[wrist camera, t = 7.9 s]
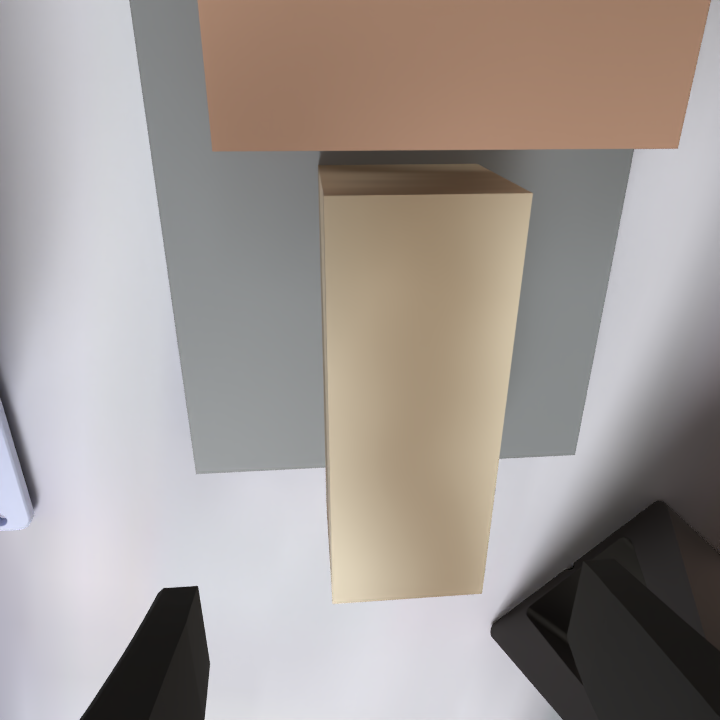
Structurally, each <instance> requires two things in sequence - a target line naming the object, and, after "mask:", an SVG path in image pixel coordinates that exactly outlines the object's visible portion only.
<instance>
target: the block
mask: <svg viewBox="0 0 720 720" xmlns="http://www.w3.org/2000/svg"><path fill="white" fill-rule="evenodd" d="M318 189H319V228H320V267H321V307H322V346H323V385H324V424H325V464H326V503H327V520H328V537H329V553H330V569H331V585H332V602H333V604H338V603H353V602H367V601H382V600H396V599H410V598H425V597H439V596H454V595H468V594H482V589H483V581H484V573H485V565H486V557H487V549H488V542H489V534H490V526H491V518H492V510H493V502H494V495H495V487H496V479H497V471H498V463H499V455H500V448H501V440H502V432H503V424H504V416H505V408H506V400H507V393H508V385H509V377H510V369H511V361H512V353H513V346H514V338H515V330H516V322H517V314H518V306H519V299H520V291H521V283H522V275H523V267H524V259H525V251H526V244H527V236H528V228H529V220H530V212H531V204H532V197H533V193H531V192H530V191H528V190H526V189H524V188H522V187H520V186H518V185H516V184H514V183H513V182H511V181H509V180H507V179H505V178H503V177H501V176H499V175H498V174H496V173H494V172H492V171H490V170H488V169H486V168H484V167H482V166H481V165H479V164H398V165H318Z"/></svg>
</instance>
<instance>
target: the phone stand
mask: <svg viewBox="0 0 720 720" xmlns="http://www.w3.org/2000/svg"><path fill="white" fill-rule="evenodd" d="M602 559H615V560H616V561H617V562H619V563H620V564H621V565H622V566H623V567H624V568H626V569H627V570H628V571H629V572H630V573H631V574H632V575H634V576H635V577H636V578H637V579H638V580H639V581H640V582H641V583H642V584H644V585H645V586H646V587H647V588H648V589H649V590H650V591H651V592H653V593H654V594H655V595H656V596H657V597H658V598H659V599H660V600H662V601H663V602H664V603H665V604H666V605H667V606H668V607H669V608H671V609H672V610H673V611H674V612H675V613H676V614H677V615H678V616H680V617H681V618H682V619H683V620H684V621H685V622H686V623H688V624H689V625H690V626H691V627H692V628H693V629H695V630H696V631H697V632H698V633H699V634H700V635H702V636H703V637H704V638H705V639H706V640H707V641H709V642H710V643H711V644H712V645H713V646H714V647H716V648H717V649H718V650H719V651H720V555H719V554H718V553H717V552H716V551H715V550H714V549H713V548H712V547H711V546H710V545H709V544H708V543H707V542H706V541H705V540H703V539H702V538H701V537H700V536H699V535H698V534H697V533H696V532H695V531H694V530H693V529H692V528H691V527H690V526H689V525H688V524H687V523H685V522H684V521H683V520H682V519H681V518H680V517H679V516H678V515H677V514H676V513H675V512H674V511H673V510H672V509H671V508H670V507H669V506H668V505H666V504H665V503H664V502H662V501H657V502H654V503H653V504H652V505H650V506H649V507H648V508H646V509H645V510H644V511H642V512H641V513H640V514H638V515H637V516H636V517H634V518H633V519H632V520H630V521H629V522H628V523H626V524H625V525H624V526H622V527H621V528H620V529H618V530H617V531H616V532H614V533H613V534H612V535H610V536H609V537H608V538H606V539H605V540H604V541H602V542H601V543H600V544H599V545H597V546H596V547H595V548H593V549H592V550H591V551H589V552H588V553H587V554H585V555H584V556H583V557H581V558H580V559H579V560H577V561H576V562H575V563H574V568H573V569H572V570H568V569H565V570H564V571H563V572H561V573H560V574H559V575H557V576H556V577H555V578H553V579H552V580H551V581H549V582H548V583H547V584H545V585H544V586H543V587H542V588H540V589H539V590H538V591H536V592H535V593H534V594H532V595H531V596H530V597H528V598H527V599H526V600H524V601H523V602H522V603H520V604H519V605H518V606H516V607H515V608H514V609H512V610H511V611H510V612H508V613H507V614H506V615H504V616H503V617H502V618H500V619H499V620H498V621H496V622H495V623H494V624H493V625H492V627H491V636H492V638H493V639H494V640H495V641H496V642H497V643H498V645H499V646H500V647H501V648H502V649H503V650H504V652H505V653H506V654H507V655H508V656H509V657H510V659H511V660H512V661H513V662H514V663H515V664H516V666H517V667H518V668H519V669H520V670H521V671H522V673H523V674H524V675H525V676H526V677H527V678H528V680H529V681H530V682H531V683H532V684H533V685H534V687H535V688H536V689H537V690H538V691H539V692H540V694H541V695H542V696H543V697H544V698H545V699H546V701H547V702H548V703H549V704H550V705H551V706H552V708H553V709H554V710H555V711H556V712H557V713H558V715H559V716H560V717H561V718H562V719H563V720H599V719H598V717H597V715H596V713H595V711H594V709H593V707H592V704H591V702H590V700H589V698H588V696H587V694H586V691H585V688H584V686H583V683H582V680H581V677H580V675H579V672H578V669H577V666H576V663H575V660H574V657H573V654H572V651H571V648H570V645H569V642H568V639H567V632H568V628H569V623H570V619H571V614H572V610H573V605H574V601H575V596H576V592H577V587H578V583H579V578H580V574H581V569H582V565H583V561H587V560H602Z"/></svg>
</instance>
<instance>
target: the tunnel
mask: <svg viewBox="0 0 720 720" xmlns="http://www.w3.org/2000/svg"><path fill="white" fill-rule="evenodd" d="M197 1H198V11H199V21H200V31H201V41H202V52H203V62H204V72H205V82H206V92H207V103H208V113H209V123H210V133H211V143H212V152H220V151H373V150H527V149H678V145H679V140H680V136H681V131H682V127H683V122H684V118H685V114H686V109H687V105H688V100H689V96H690V91H691V87H692V82H693V78H694V73H695V69H696V64H697V60H698V55H699V51H700V47H701V42H702V38H703V33H704V29H705V24H706V20H707V15H708V11H709V6H710V2H711V0H197Z"/></svg>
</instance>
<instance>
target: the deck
mask: <svg viewBox="0 0 720 720" xmlns="http://www.w3.org/2000/svg"><path fill="white" fill-rule="evenodd" d="M129 1H130V8H131V15H132V22H133V29H134V37H135V44H136V51H137V58H138V65H139V72H140V79H141V86H142V93H143V100H144V107H145V115H146V122H147V129H148V136H149V143H150V150H151V157H152V164H153V171H154V178H155V185H156V193H157V200H158V207H159V214H160V221H161V228H162V235H163V242H164V249H165V256H166V263H167V271H168V278H169V285H170V292H171V299H172V306H173V313H174V320H175V327H176V334H177V342H178V349H179V356H180V363H181V370H182V377H183V384H184V391H185V398H186V405H187V412H188V420H189V427H190V434H191V441H192V448H193V455H194V462H195V469H196V474H205V473H225V472H245V471H265V470H285V469H305V468H324V467H326V464H325V424H324V385H323V346H322V307H321V267H320V228H319V189H318V165H398V164H479V165H481V166H482V167H484V168H486V169H488V170H490V171H492V172H494V173H496V174H498V175H499V176H501V177H503V178H505V179H507V180H509V181H511V182H513V183H514V184H516V185H518V186H520V187H522V188H524V189H526V190H528V191H530V192H531V193H533V197H532V204H531V212H530V220H529V228H528V236H527V244H526V251H525V259H524V267H523V275H522V283H521V291H520V299H519V306H518V314H517V322H516V330H515V338H514V346H513V353H512V361H511V369H510V377H509V385H508V393H507V400H506V408H505V416H504V424H503V432H502V440H501V448H500V455H499V459H503V458H523V457H543V456H563V455H575V451H576V446H577V441H578V436H579V431H580V426H581V421H582V415H583V410H584V405H585V400H586V395H587V390H588V384H589V379H590V374H591V369H592V364H593V359H594V353H595V348H596V343H597V338H598V333H599V328H600V322H601V317H602V312H603V307H604V302H605V297H606V291H607V286H608V281H609V276H610V271H611V266H612V260H613V255H614V250H615V245H616V240H617V235H618V229H619V224H620V219H621V214H622V209H623V204H624V198H625V193H626V188H627V183H628V178H629V173H630V167H631V162H632V157H633V152H634V149H527V150H373V151H220V152H212V143H211V133H210V123H209V113H208V103H207V92H206V82H205V72H204V62H203V52H202V41H201V31H200V21H199V11H198V1H197V0H129Z"/></svg>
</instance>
